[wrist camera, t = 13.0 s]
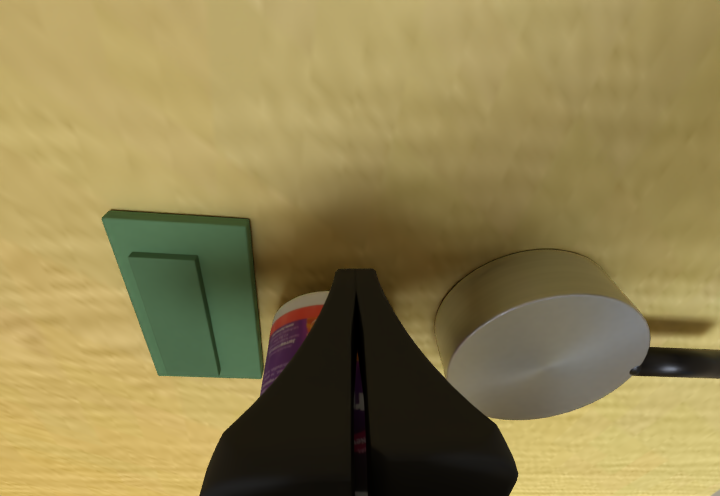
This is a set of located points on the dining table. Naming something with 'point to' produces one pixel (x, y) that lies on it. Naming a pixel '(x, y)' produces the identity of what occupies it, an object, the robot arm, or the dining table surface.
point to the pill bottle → (283, 345)
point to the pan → (549, 337)
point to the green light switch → (191, 291)
